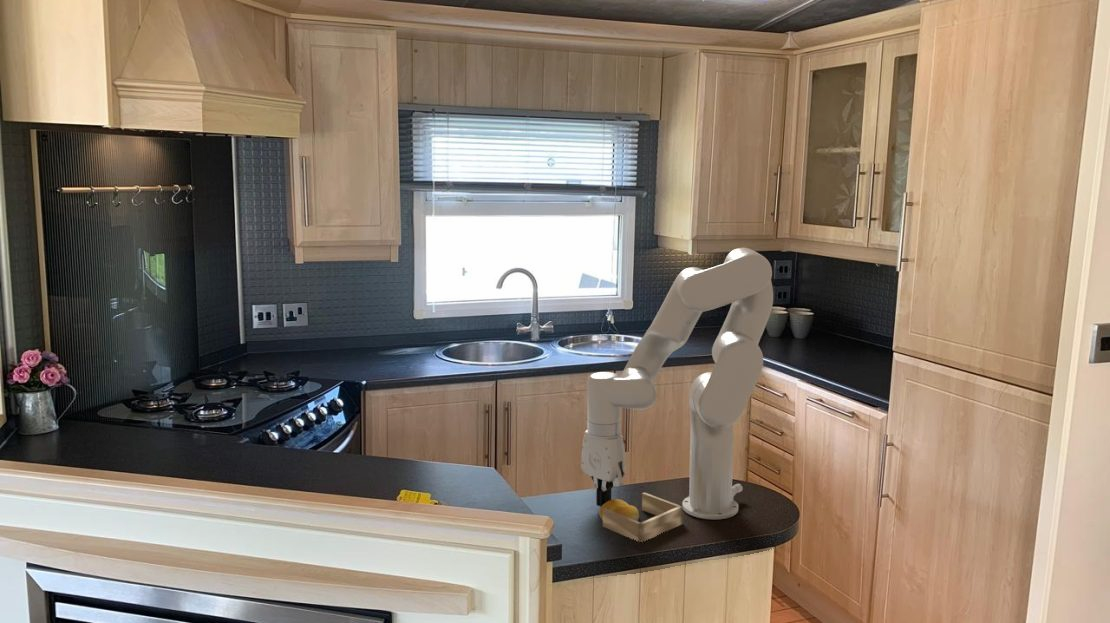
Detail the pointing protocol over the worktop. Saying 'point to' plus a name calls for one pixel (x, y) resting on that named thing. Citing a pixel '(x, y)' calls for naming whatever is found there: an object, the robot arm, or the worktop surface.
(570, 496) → the worktop surface
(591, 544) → the worktop surface
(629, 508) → the bread roll
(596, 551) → the worktop surface
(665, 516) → the holder
